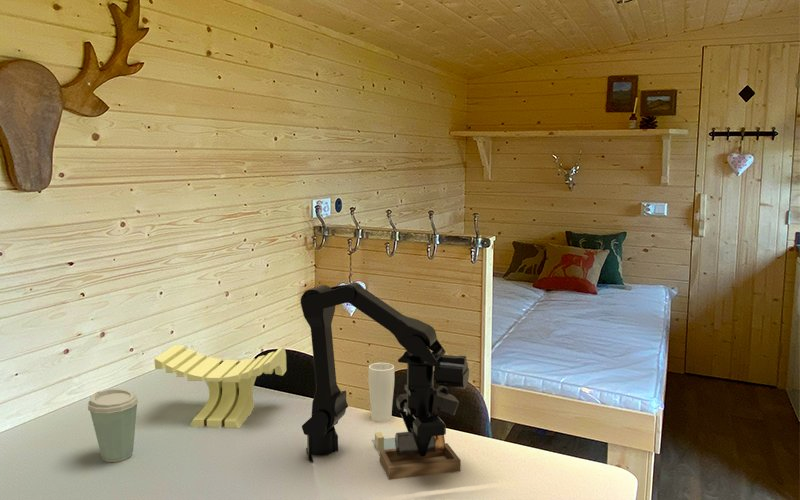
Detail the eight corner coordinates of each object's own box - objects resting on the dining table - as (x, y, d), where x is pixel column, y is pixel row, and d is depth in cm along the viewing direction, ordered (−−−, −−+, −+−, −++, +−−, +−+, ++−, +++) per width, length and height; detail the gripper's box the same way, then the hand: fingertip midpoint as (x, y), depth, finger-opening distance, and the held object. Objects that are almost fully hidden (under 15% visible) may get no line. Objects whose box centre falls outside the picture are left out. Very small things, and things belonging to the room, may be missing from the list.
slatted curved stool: (287, 406, 183) (285, 344, 181) (271, 429, 167) (269, 361, 165) (182, 402, 185) (180, 341, 183) (157, 425, 170) (154, 358, 167)
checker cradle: (379, 460, 150) (379, 443, 150) (371, 443, 159) (371, 428, 158) (441, 453, 154) (441, 436, 153) (430, 437, 163) (430, 422, 162)
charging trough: (389, 483, 139) (389, 468, 139) (379, 465, 148) (379, 450, 147) (460, 475, 143) (460, 460, 143) (447, 457, 152) (447, 443, 151)
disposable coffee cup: (151, 450, 154) (148, 389, 152) (118, 470, 144) (114, 405, 142) (115, 444, 158) (111, 384, 156) (80, 463, 148) (75, 399, 146)
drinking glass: (391, 427, 169) (391, 371, 167) (365, 425, 170) (365, 369, 168) (396, 417, 175) (396, 363, 173) (372, 415, 177) (372, 361, 175)
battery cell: (400, 460, 141) (400, 438, 141) (394, 450, 146) (394, 428, 145) (444, 455, 144) (445, 433, 143) (437, 445, 149) (437, 424, 148)
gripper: (470, 394, 136) (468, 465, 138) (442, 367, 154) (441, 430, 156) (418, 398, 133) (417, 471, 135) (396, 370, 151) (395, 435, 153)
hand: (419, 450), depth 145 cm, fingers closed on battery cell, 5 cm apart
